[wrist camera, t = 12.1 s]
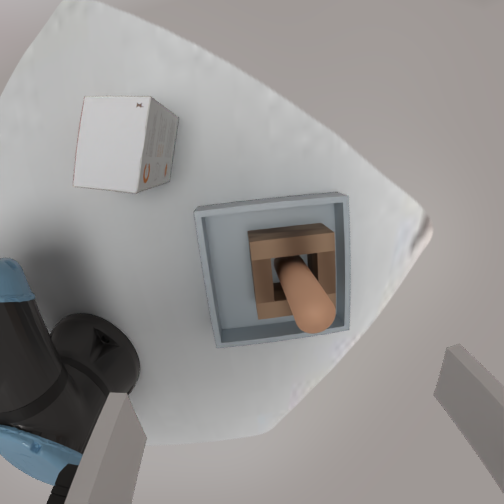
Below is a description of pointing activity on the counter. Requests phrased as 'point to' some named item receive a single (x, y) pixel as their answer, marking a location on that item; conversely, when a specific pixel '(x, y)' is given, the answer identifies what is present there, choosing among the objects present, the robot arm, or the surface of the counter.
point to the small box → (124, 144)
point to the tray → (239, 263)
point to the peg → (304, 295)
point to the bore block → (282, 245)
